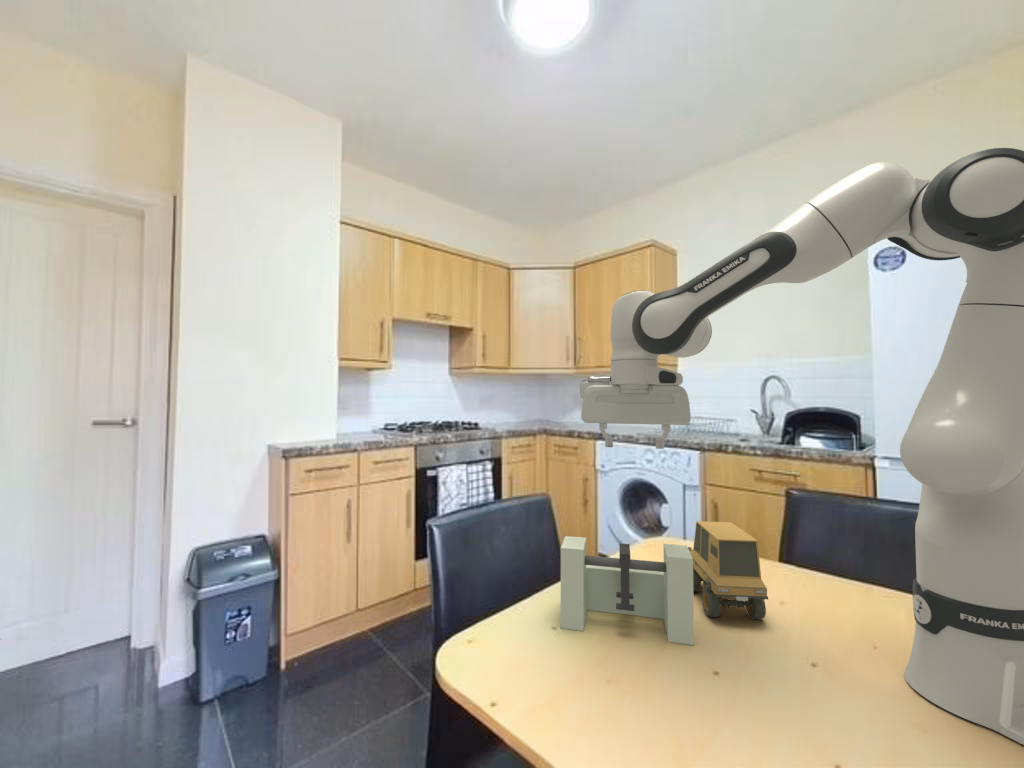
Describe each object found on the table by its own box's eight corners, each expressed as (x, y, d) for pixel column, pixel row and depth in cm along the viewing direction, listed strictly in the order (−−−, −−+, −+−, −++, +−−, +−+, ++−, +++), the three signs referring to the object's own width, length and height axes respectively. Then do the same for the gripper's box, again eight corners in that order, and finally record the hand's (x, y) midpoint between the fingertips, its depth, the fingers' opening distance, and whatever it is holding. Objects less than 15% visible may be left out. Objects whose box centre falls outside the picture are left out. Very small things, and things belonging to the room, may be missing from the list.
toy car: (730, 585, 97) (729, 516, 97) (773, 630, 78) (771, 544, 78) (681, 583, 98) (681, 514, 98) (712, 626, 79) (711, 541, 79)
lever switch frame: (685, 616, 82) (684, 540, 83) (693, 645, 73) (692, 558, 73) (567, 602, 87) (567, 531, 88) (560, 628, 78) (560, 547, 78)
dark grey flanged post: (633, 596, 81) (632, 544, 82) (634, 611, 75) (633, 554, 76) (616, 594, 82) (616, 543, 83) (616, 609, 75) (615, 553, 76)
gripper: (578, 375, 85) (578, 447, 84) (691, 374, 80) (692, 451, 80) (581, 377, 91) (581, 444, 91) (686, 376, 86) (687, 447, 86)
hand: (634, 447), depth 85 cm, fingers open, 8 cm apart
